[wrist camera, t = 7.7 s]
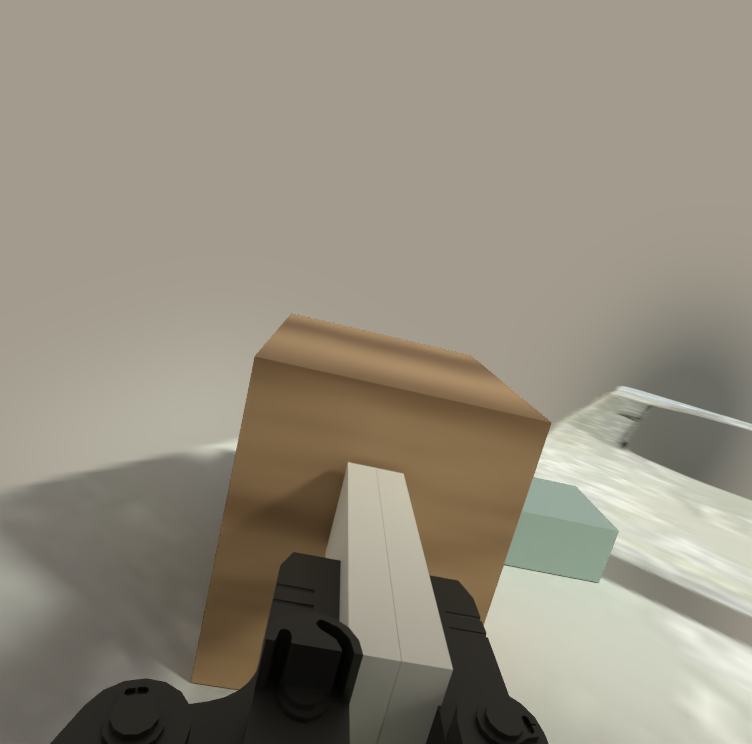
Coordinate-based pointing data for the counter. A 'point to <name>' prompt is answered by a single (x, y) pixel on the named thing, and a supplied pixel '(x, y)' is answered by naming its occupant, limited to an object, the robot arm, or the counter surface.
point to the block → (370, 448)
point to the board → (561, 533)
